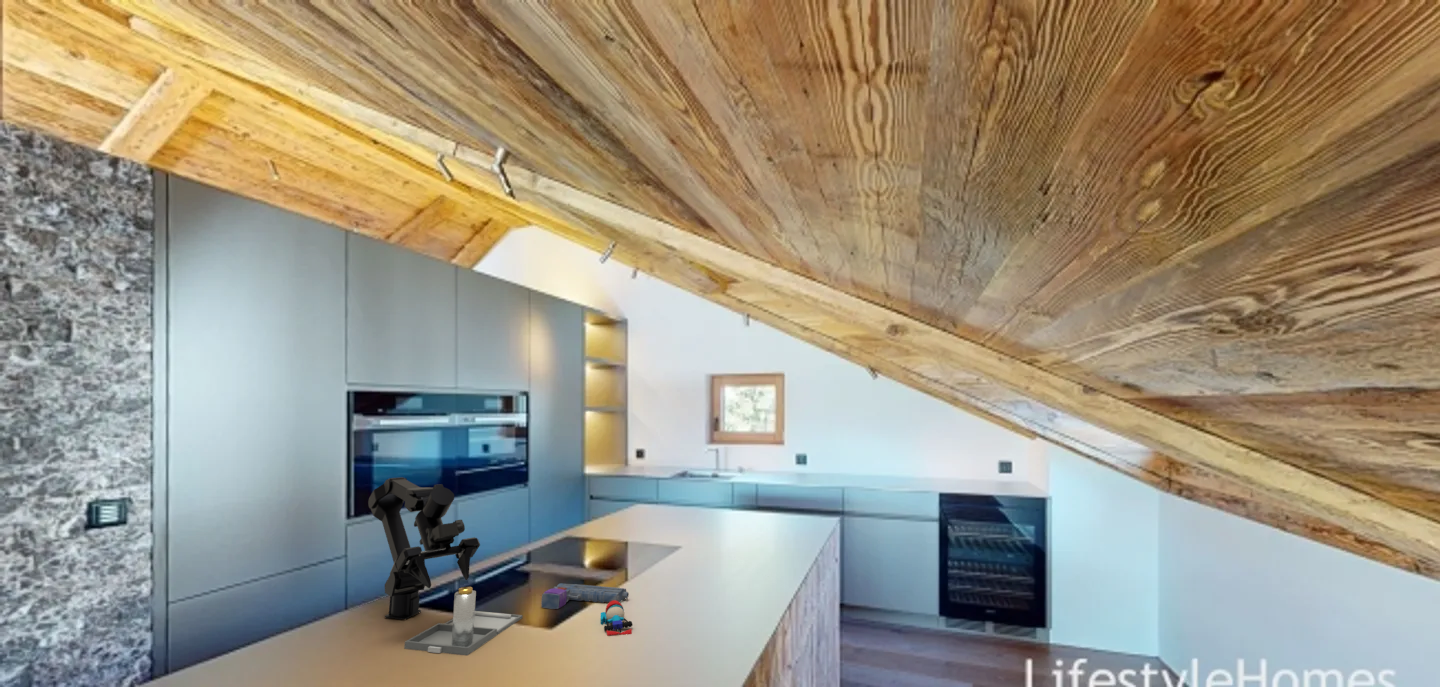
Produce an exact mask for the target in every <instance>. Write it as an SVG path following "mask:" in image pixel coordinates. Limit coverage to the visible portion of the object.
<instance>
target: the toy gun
mask: <svg viewBox="0 0 1440 687" xmlns="http://www.w3.org/2000/svg"><path fill="white" fill-rule="evenodd" d="M629 596H630V595H629V592H628V591H627V588H623V587H614V586H612V587H611V586H600V585H599V586H598V585H590V584H589V585H587V584H576V583H574V584H573V583H561V582H560V583H558V584H557V586H553V588H549V589H547V590H545V591H544V592H543V593H542V595H541V603H540V604H541V608H543V609H551V610H555V609H556V610H558V609H561V608H562V607H564V606H565V605H566V604H567V603H569V601H570V600H571V601H585V602H591V601H592V603H593V602H594V603H597V602H600V603H605V602H607V603H609V602H610V601H613V600H616V601H618V602H620V601H621V600H623V599H625V598H626V599H628V598H629ZM626 599H625V600H626ZM623 601H624V600H623ZM620 603H621V602H620Z"/></svg>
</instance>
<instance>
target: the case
mask: <svg viewBox="0 0 1440 687" xmlns="http://www.w3.org/2000/svg"><path fill="white" fill-rule="evenodd" d="M452 628H453V624H444V623H442V622H441V623H440V622H437V623H436V624H434V625H433V626H430V627H429V628H427V629H425V630H423V631H421V632H419V633H417V634H416V635H413V636H412V637H410V638H408V639H407V640H405V641H404V646H403V647H404V650H405V649H406V650H412V651H414V650H415V651H422V652H428V653H434V654H441V653H442V654H449V655H450V654H451V655H460V656H469V655H471V654H472V653H473V652H475V651H476V650H478V649H479V648H480V647H482V646H483V645H485V644H486V643H488V642H489V641H491V640H492V639H493V638H495V637H496V636H498V635H497V629H494V628H484V627H474V633H473V643H472V644H471V645H469V646H468V647H463V646H453V645H451V644H452Z"/></svg>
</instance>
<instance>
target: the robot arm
mask: <svg viewBox="0 0 1440 687" xmlns="http://www.w3.org/2000/svg"><path fill="white" fill-rule="evenodd" d="M454 500H455V494H454V492H453V491H452V490H450V489H449V488H447V487H444V485H443V484H442V483H441V484H434V485H433V487H430V486H429V487H421V486H418V485H417V484H415V483H413V482H411V481H409V480H407V478H406V477H402V476H401V477H391V478H390V477H389V478H388V479H386V480H385V481H384V482H383V483H382V484H381V485H380V486H378V487H376V488H374V489H373V490H372V492H371V494H370V496H369V498H368V501H367V503H368V508H369V510H370V511H371V513H372V516H373V517H374V518H376V519H377V520H379V521H380V522H381V524H382V527H383V529H384V530H383V531H384V533H385V537H386V540H387V543H388V547H389V551H390V554H391V558H392V561H393V565H392V566H391V570H390V572H389V576H388V578H387V580H386V582H385V583H384V594H386V595H387V596H389V603H388V604H389V608H388V613H387V614H385V615H384V617H386V618H385V619H391V618H395V619H394V620H401V619H406V620H408V619H410V618H412V617H414V616H416V615H418V614H420V613H421V612H422V610H421V609H419V607H420V596H419V591H424V590H425V587H426V588H427V589H431V588H432V582H431V578H430V575H429V572H428V569H427V567H426V562H425V560H429V559H436V558H443V557H448V556H454V555H455V558H456V559H457V561H456V563H457V565H458V568H459V570H460V572H461V574H462V576H463V578H464V580H465V581H468V580H469V578H470V564H471V563H470V562H471V558H473V557H474V556H475V554H476V553H477V551H478V549H479V547H480V546H481V544H480V541H479V539H478V538H477V537H475V536H474V537H469V538H462V539H461V540H460V542H459V544H458V545H455V546H451V544H454V543H455V538H456V537H459V535H460V534H462V533H464V531H465V529H466V528H465V523H464V521H463V519H457V520H454V521H453V522H448V523H443V519H442V518H444V517H445V516H446V515H447V512H448V511H449V509H450V508H451V505H452V504H453V503H454ZM403 506H404V508H406V509H407V510H408V512H409V513H416V512H418V513H417V514H416V516H415V518H414V520H415V521H414V522H413V527H414V528H415V527H417V529H418V533H419V536H420V540H419V545H423V548H424V550H423V549H422V547H421V546H413V547H411V544H410V541H409V538H408V535H407V532H406V529H405V525H404V521H403V519H402V515H401V510H402V507H403ZM419 612H420V613H419ZM417 613H418V614H417ZM415 614H416V615H415ZM413 615H414V616H413ZM411 616H412V617H411ZM409 617H410V618H409ZM407 618H408V619H407Z"/></svg>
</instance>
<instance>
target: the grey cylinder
mask: <svg viewBox="0 0 1440 687" xmlns="http://www.w3.org/2000/svg"><path fill="white" fill-rule="evenodd" d="M476 596H477V591H476V590H473V587H472V586H462V587H460V588H458V591H456V592H455V593H454V600H453V615H452V619H453V628H452V644H451V645H453V646H463V647H468V646H469V645H471V644H472V643H473V633H474V616H475V611H476V599H477V598H476Z"/></svg>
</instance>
